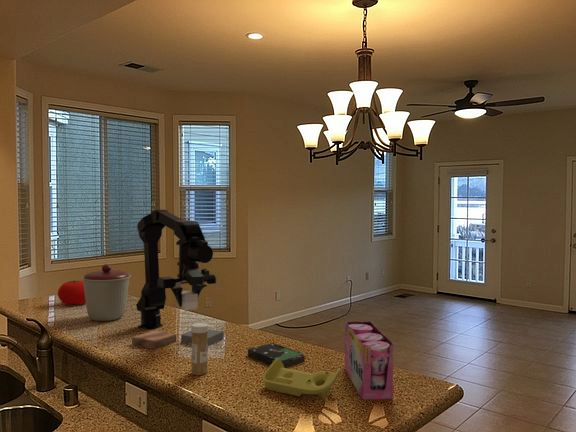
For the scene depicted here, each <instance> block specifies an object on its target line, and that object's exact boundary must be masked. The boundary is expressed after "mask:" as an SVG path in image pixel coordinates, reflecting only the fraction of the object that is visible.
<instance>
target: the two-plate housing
mask: <svg viewBox="0 0 576 432" xmlns="http://www.w3.org/2000/svg"><path fill="white" fill-rule="evenodd" d="M176 302H177V301H176ZM198 302H199V296H198V294H197V293H195V292H192V290H184V291H183V290H182V307H179V305H178V302H177V303H176V307H177V308H179V309H181V310H183V311H191V310H197V309H198V306H199V305H198Z"/></svg>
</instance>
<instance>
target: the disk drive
mask: <svg viewBox="0 0 576 432" xmlns="http://www.w3.org/2000/svg"><path fill="white" fill-rule="evenodd" d="M247 356H248V357H249V358H252V359H255V360H257V361H260V362H262V363H265V364H267V365H269V366H270V365H271V364H272V363H273V362H274V360H275V359H280V360H281V362H282V363H283V365H284V367H285V368H287V367H290V366H293V365H296V364H299V363H304V362H305V360H306V359H305V355H304V353H301V352H300V351H296V350H295V349H290V348H289V347H285V346H283V345H280V344H277V343H274V342H271V343H267V344H263V345H260V346H258V347H250V348H248V349H247Z"/></svg>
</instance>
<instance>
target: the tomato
mask: <svg viewBox="0 0 576 432" xmlns="http://www.w3.org/2000/svg"><path fill="white" fill-rule="evenodd" d="M57 296H58V299H59V300H60V302H62V304H65V305H67V306H68V305H69V306H75V305H76V306H77V305H82V304H86V300H85V291H84V282H83V280H72V281H71V280H69V281H66V282H64V283H63V284H62V285H60V286H59V288H58V290H57Z"/></svg>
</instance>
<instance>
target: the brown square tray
mask: <svg viewBox="0 0 576 432" xmlns="http://www.w3.org/2000/svg"><path fill="white" fill-rule="evenodd" d="M173 342H174V343H176V342H177V334H175V333H171V332H170V333H169V332H164V331H158V330H153V329H152V330H151V331H148V332H145V333H142V334H139V335H136V336H133V337H131V345H132V346H134V347H135V346H137V347H141V348H147V349H152V350H158V348H159V349H161V348H163V346H164V347H165V345H166V346H168V344H169V345H170V343H171V344H173ZM160 347H161V348H160Z"/></svg>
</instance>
